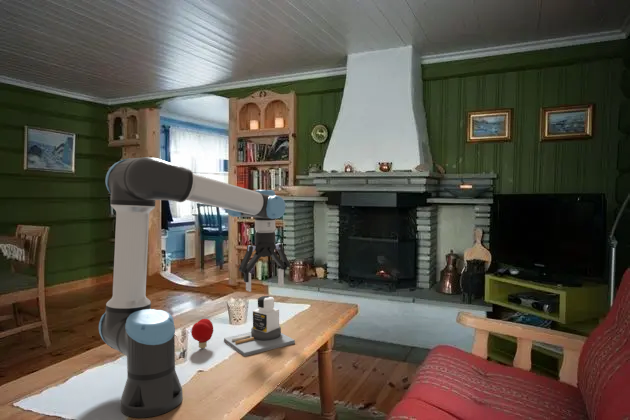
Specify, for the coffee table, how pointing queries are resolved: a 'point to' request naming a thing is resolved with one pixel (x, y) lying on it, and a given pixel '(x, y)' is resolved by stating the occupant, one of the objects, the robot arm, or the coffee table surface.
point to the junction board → (256, 343)
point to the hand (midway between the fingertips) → (265, 288)
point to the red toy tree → (202, 332)
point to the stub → (266, 334)
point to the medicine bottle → (265, 315)
